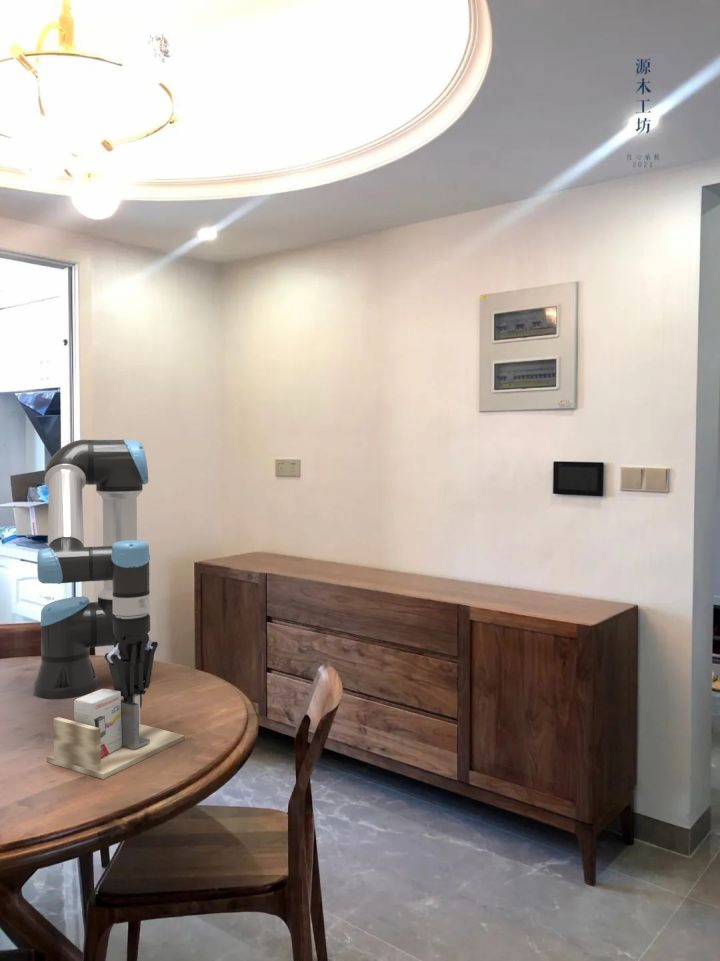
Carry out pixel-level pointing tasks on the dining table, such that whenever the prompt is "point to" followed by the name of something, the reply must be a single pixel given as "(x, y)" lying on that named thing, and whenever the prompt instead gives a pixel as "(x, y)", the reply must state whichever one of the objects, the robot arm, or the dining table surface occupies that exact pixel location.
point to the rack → (83, 748)
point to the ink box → (102, 716)
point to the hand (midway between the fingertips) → (133, 725)
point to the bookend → (131, 726)
